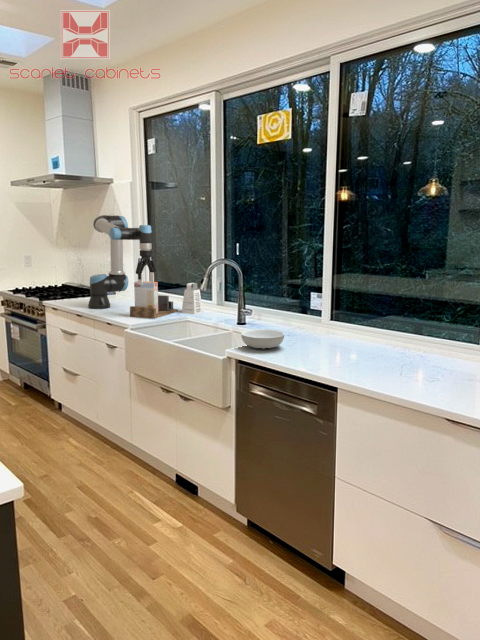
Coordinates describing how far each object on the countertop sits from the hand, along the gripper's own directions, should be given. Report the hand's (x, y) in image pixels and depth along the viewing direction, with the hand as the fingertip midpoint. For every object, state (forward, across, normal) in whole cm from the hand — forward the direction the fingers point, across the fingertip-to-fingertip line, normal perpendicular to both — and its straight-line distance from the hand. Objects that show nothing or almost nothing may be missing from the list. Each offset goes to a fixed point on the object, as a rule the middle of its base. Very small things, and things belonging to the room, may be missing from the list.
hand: (146, 283), depth 302 cm
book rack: (+21, +9, -1) cm, 23 cm away
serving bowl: (+20, -50, -95) cm, 109 cm away
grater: (+21, +25, -21) cm, 39 cm away
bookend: (+20, +19, -1) cm, 27 cm away
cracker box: (+20, -1, 0) cm, 20 cm away
